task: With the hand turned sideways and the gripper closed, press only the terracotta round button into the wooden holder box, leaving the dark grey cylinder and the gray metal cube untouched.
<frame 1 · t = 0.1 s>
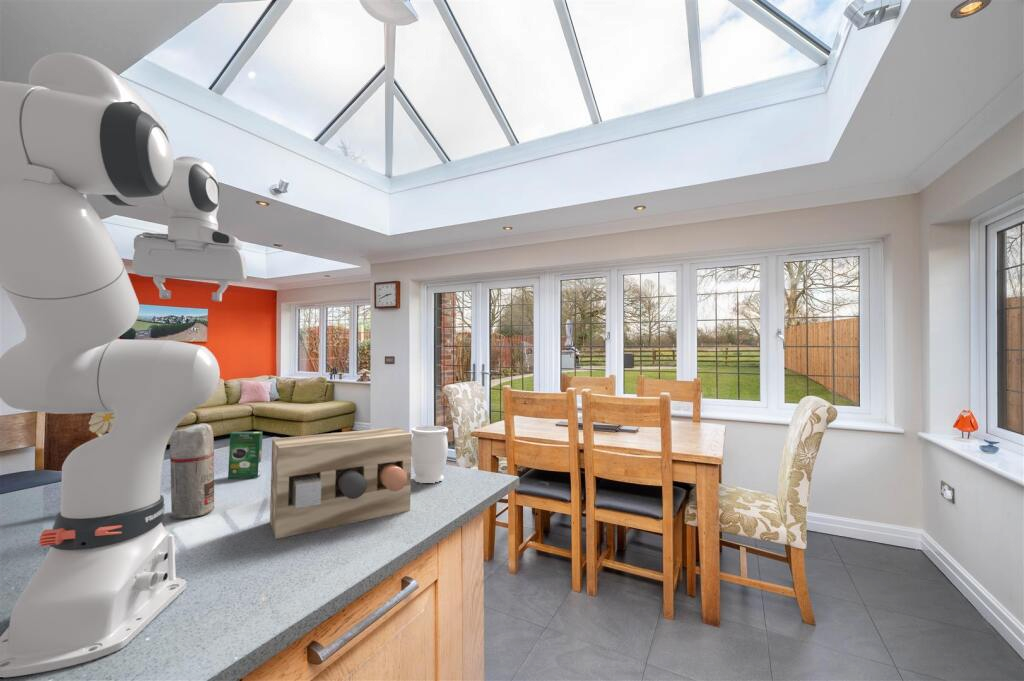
hand: (191, 299, 94), 48 cm above the counter, tool pointing down, fingers open, 8 cm apart
coffee box: (245, 477, 125), on the counter
wooden holder box: (342, 515, 98), on the counter
terracotta button: (392, 476, 98), point 9 cm above the counter, slide at 0.0 cm
flower in vase: (107, 509, 100), on the counter
jar: (428, 480, 126), on the counter
paper wrapped package: (192, 513, 98), on the counter
gray metal cube: (306, 490, 88), point 9 cm above the counter, slide at 0.0 cm
dark grey cylinder: (351, 483, 93), point 9 cm above the counter, slide at 0.0 cm
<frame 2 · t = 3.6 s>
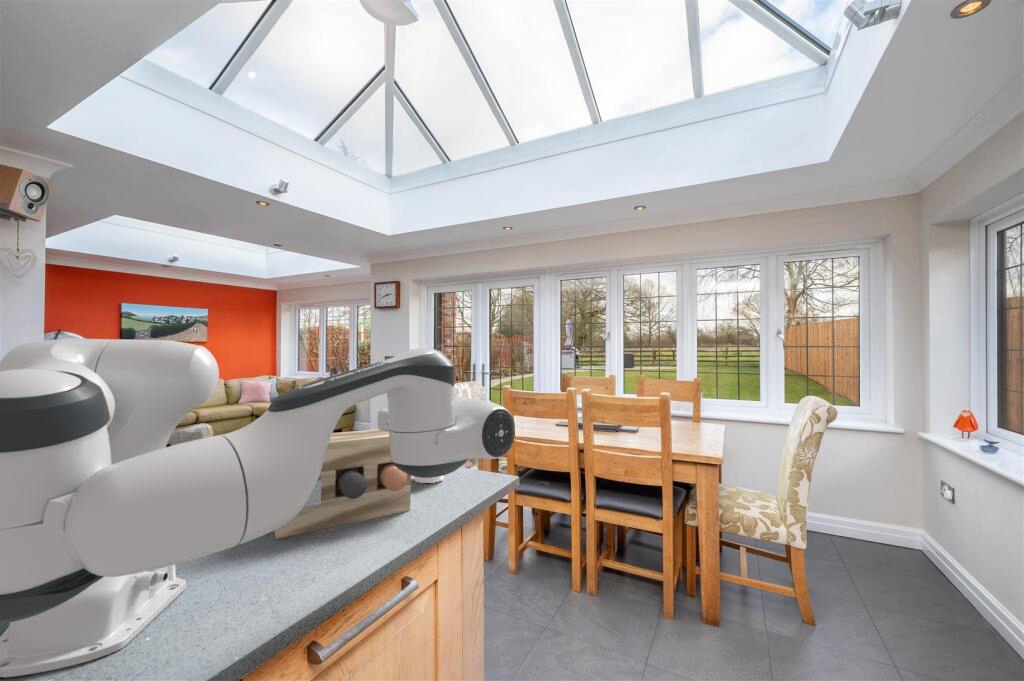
hand: (418, 412, 87), 25 cm above the counter, tool horizontal, fingers open, 8 cm apart
nothing on the counter moved.
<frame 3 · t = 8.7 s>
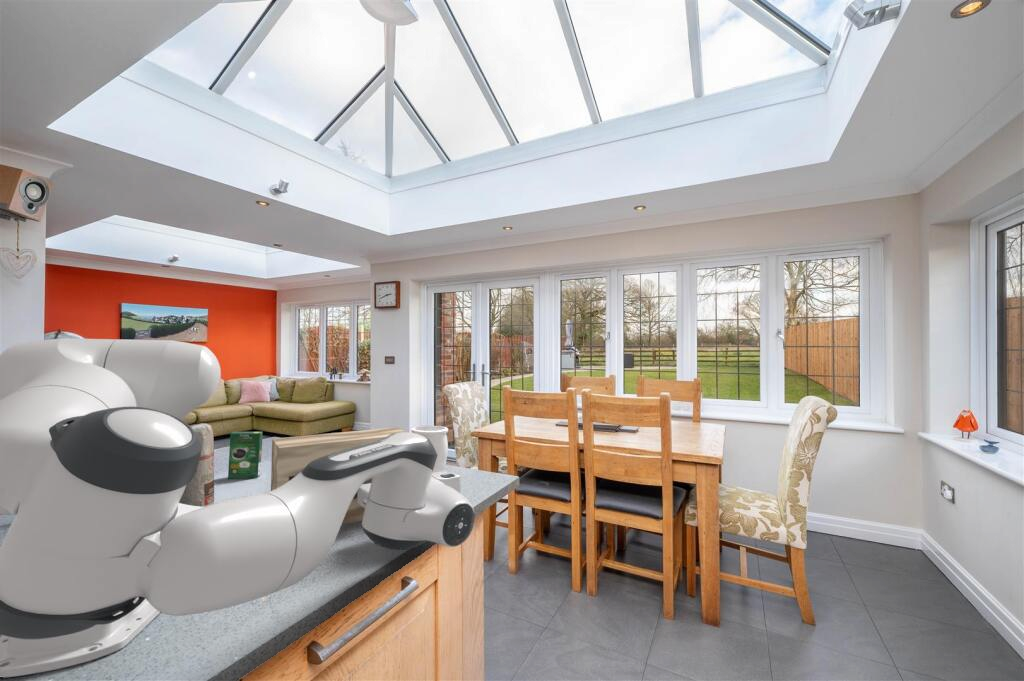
hand: (396, 479, 96), 9 cm above the counter, tool horizontal, fingers closed, pressing on terracotta button
terracotta button: (392, 476, 98), point 9 cm above the counter, slide at 0.2 cm, touching gripper
everything else where it was.
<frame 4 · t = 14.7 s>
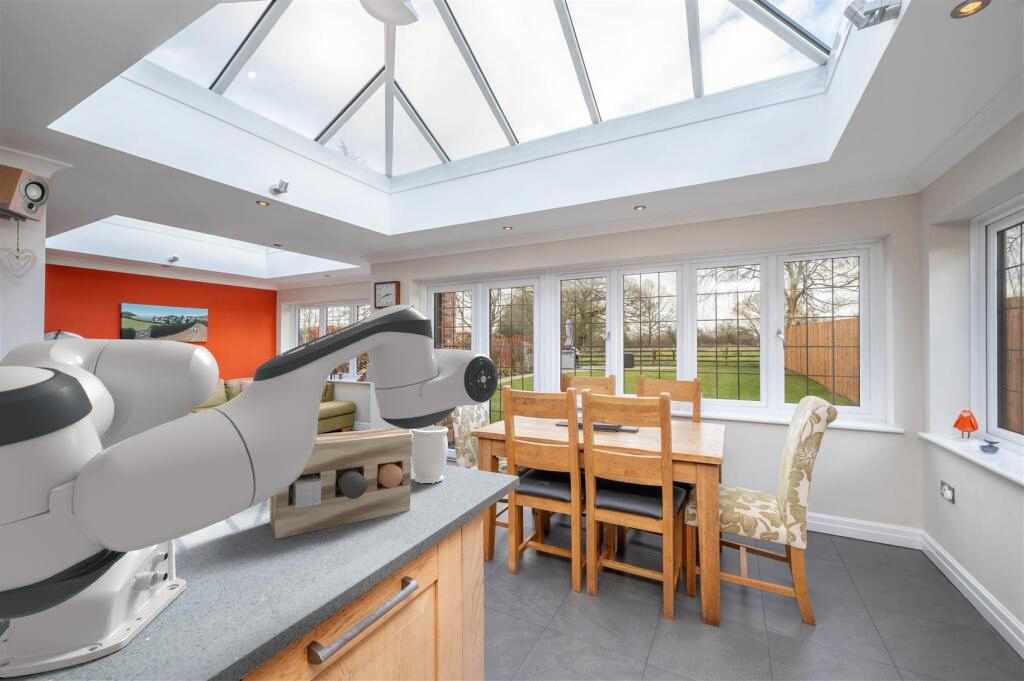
hand: (407, 369, 89), 34 cm above the counter, tool horizontal, fingers closed
terracotta button: (388, 474, 100), point 9 cm above the counter, slide at 2.7 cm
everything else where it was.
at the end: terracotta button slide at 2.7 cm; dark grey cylinder slide at 0.0 cm; gray metal cube slide at 0.0 cm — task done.
